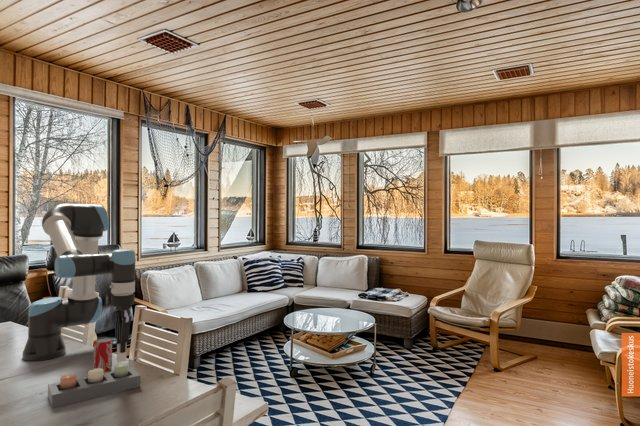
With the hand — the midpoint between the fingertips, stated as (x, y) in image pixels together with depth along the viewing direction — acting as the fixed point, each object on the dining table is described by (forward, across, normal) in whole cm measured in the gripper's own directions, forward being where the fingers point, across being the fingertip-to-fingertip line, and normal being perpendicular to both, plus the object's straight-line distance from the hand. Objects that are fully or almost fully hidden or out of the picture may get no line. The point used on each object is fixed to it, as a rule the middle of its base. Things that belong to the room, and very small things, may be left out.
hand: (121, 360), depth 144 cm
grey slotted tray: (+9, 0, -8) cm, 12 cm away
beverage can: (+9, -18, -2) cm, 20 cm away
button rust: (+5, 0, -16) cm, 17 cm away
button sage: (+5, 0, 0) cm, 5 cm away
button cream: (+5, 0, -8) cm, 9 cm away
